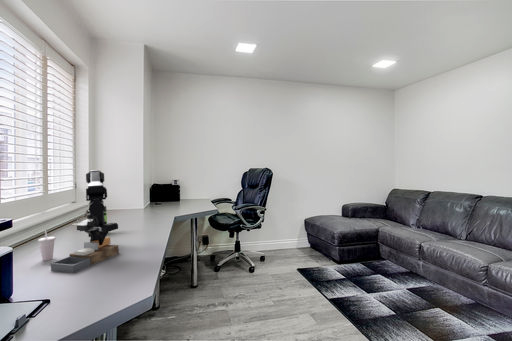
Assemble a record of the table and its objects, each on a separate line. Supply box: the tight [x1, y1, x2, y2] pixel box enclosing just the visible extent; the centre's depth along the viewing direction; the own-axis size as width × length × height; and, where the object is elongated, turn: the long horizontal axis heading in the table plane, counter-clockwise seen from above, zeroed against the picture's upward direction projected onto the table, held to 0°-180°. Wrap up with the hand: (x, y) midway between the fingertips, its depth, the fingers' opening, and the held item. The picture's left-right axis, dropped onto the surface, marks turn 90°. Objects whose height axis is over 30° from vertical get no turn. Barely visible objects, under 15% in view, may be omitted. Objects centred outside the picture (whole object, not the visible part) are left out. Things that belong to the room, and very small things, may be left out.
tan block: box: [68, 244, 120, 266], centre depth 119 cm, size 15×12×4 cm
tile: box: [75, 247, 94, 255], centre depth 115 cm, size 5×5×2 cm
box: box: [50, 256, 92, 274], centre depth 108 cm, size 8×12×3 cm, turn 74°
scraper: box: [83, 236, 111, 250], centre depth 122 cm, size 10×7×3 cm
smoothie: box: [37, 229, 56, 261], centre depth 120 cm, size 6×6×14 cm
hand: (98, 244), depth 121 cm, fingers closed on scraper, 2 cm apart
